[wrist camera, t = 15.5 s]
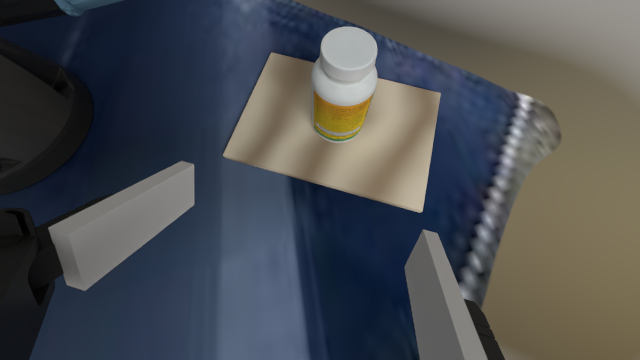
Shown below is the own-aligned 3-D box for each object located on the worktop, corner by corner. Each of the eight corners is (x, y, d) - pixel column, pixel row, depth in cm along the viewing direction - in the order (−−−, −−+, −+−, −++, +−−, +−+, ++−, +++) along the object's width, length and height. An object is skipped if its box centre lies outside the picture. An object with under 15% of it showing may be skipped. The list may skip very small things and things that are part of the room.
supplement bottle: (306, 106, 27) (303, 24, 18) (354, 97, 28) (373, 13, 19) (318, 150, 25) (320, 83, 16) (368, 139, 26) (397, 69, 17)
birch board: (224, 157, 26) (222, 155, 25) (272, 56, 30) (271, 52, 30) (420, 212, 24) (422, 211, 23) (438, 96, 29) (440, 93, 28)
